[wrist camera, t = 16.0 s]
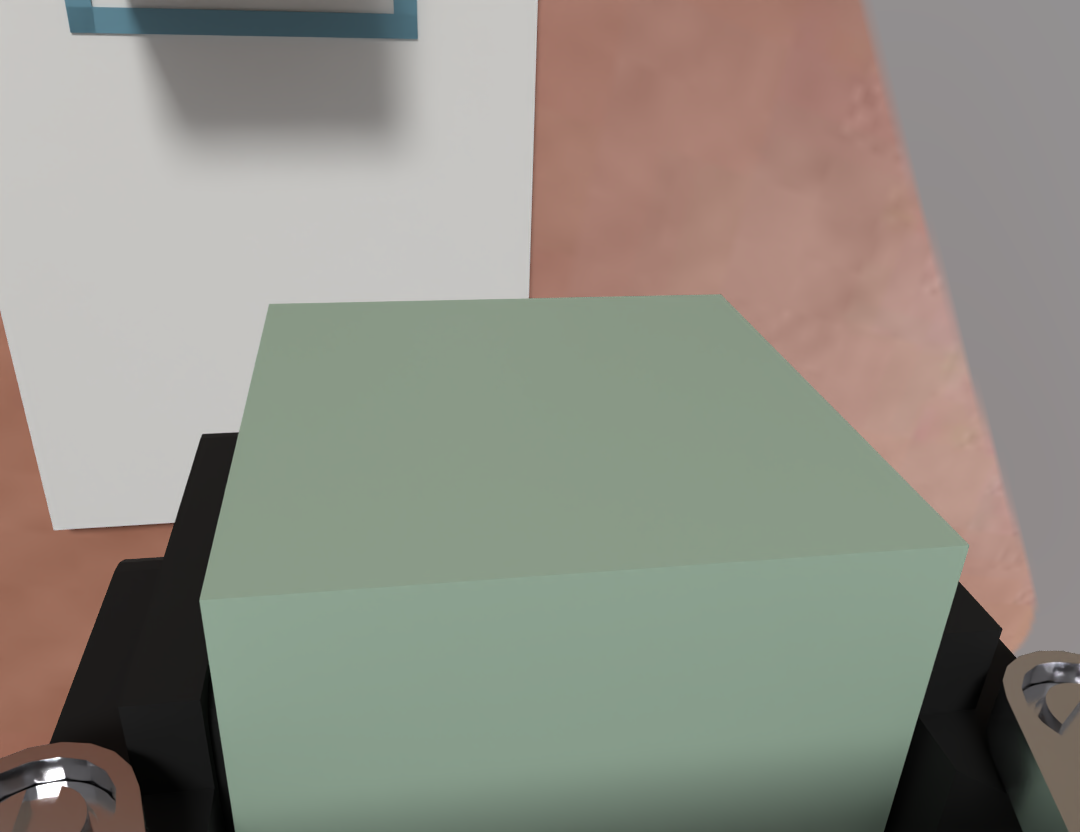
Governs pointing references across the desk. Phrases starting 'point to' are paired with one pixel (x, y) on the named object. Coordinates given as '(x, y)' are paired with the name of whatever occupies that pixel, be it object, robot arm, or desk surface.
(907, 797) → the robot arm
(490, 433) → the sage cube
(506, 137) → the building board
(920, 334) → the desk surface
